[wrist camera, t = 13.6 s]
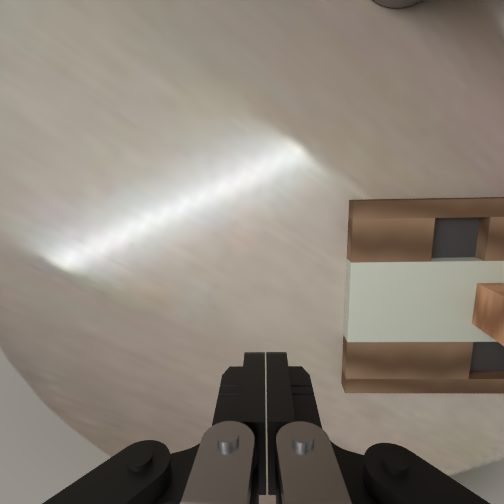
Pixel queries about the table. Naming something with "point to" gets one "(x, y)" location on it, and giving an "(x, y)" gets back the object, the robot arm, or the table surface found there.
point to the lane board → (421, 295)
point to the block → (490, 310)
